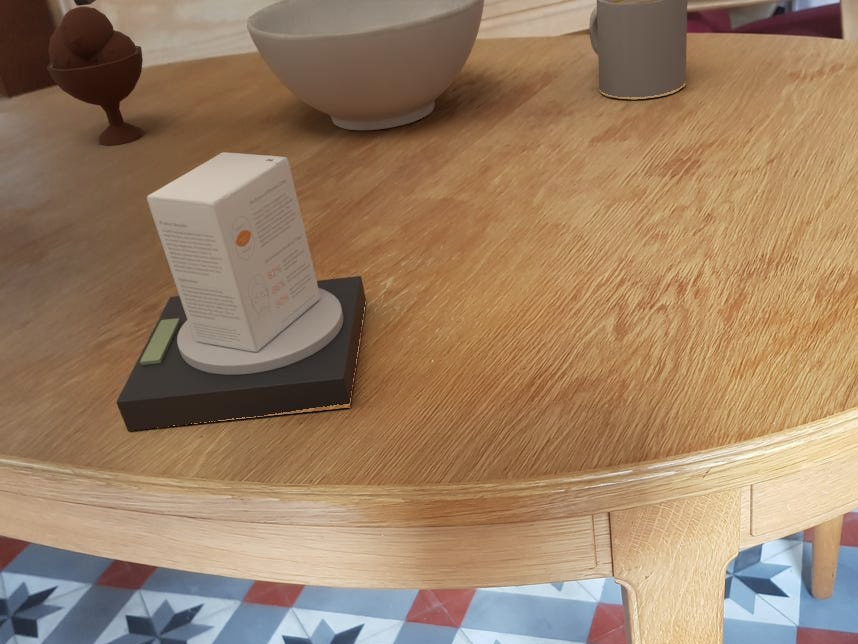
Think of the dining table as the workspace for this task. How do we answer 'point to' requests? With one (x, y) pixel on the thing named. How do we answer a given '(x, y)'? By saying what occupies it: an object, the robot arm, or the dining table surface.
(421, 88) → the decorative bowl
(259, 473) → the dining table surface
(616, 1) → the coffee mug
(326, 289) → the scale
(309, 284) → the small box
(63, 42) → the ice cream bowl
